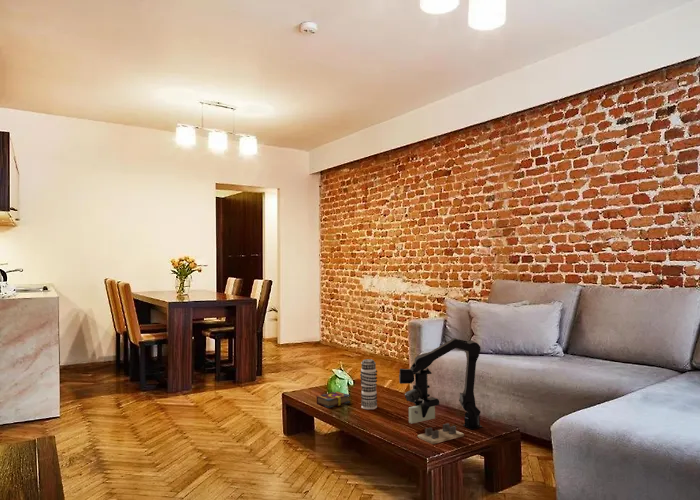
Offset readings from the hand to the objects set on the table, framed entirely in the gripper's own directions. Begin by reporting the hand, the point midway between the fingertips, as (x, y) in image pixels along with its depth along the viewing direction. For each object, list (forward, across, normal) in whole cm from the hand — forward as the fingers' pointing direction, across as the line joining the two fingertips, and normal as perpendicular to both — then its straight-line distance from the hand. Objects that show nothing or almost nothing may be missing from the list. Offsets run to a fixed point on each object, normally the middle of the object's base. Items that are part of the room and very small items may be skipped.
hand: (422, 416), depth 235 cm
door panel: (+2, 0, 0) cm, 2 cm away
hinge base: (+5, +14, -1) cm, 15 cm away
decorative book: (+5, -58, -15) cm, 61 cm away
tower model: (+5, -41, -3) cm, 41 cm away
